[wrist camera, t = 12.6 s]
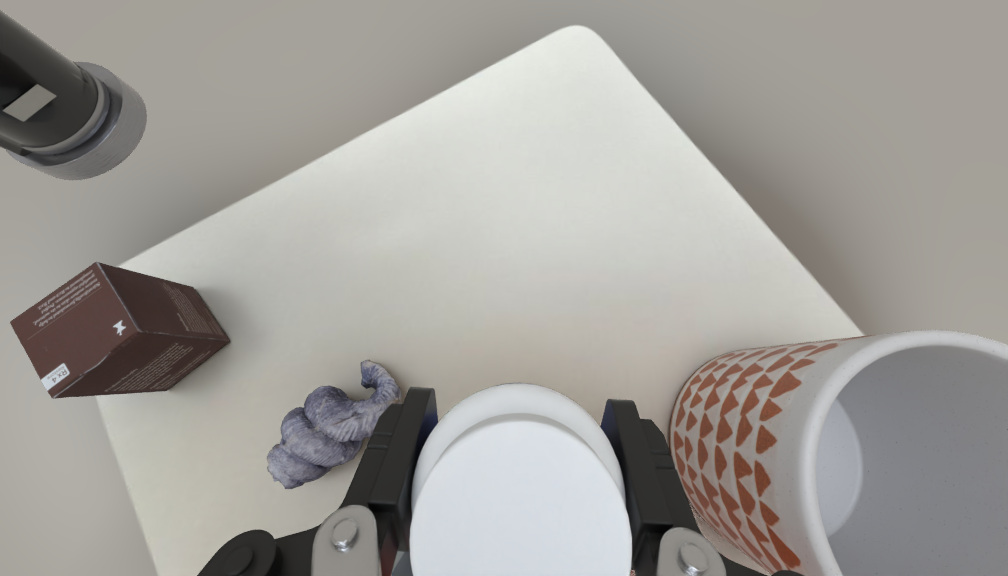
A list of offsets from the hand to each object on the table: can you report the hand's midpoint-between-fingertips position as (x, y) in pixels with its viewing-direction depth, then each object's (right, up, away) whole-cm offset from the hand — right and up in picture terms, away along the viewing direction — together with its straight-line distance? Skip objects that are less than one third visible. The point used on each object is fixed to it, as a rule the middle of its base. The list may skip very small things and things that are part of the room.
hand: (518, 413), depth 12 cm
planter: (+18, -7, +15) cm, 25 cm away
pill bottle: (0, -3, +4) cm, 5 cm away
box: (-26, 0, +17) cm, 31 cm away
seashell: (-12, -6, +16) cm, 21 cm away
